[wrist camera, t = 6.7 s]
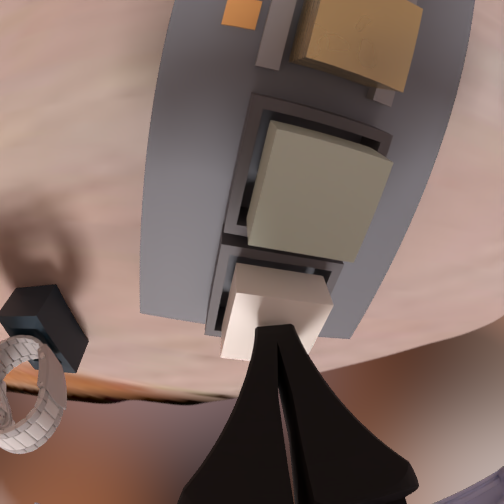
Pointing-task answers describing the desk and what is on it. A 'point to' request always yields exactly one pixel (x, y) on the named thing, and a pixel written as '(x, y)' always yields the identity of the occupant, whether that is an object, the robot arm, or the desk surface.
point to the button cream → (272, 307)
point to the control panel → (252, 143)
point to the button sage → (314, 193)
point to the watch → (38, 361)
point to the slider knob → (358, 40)
